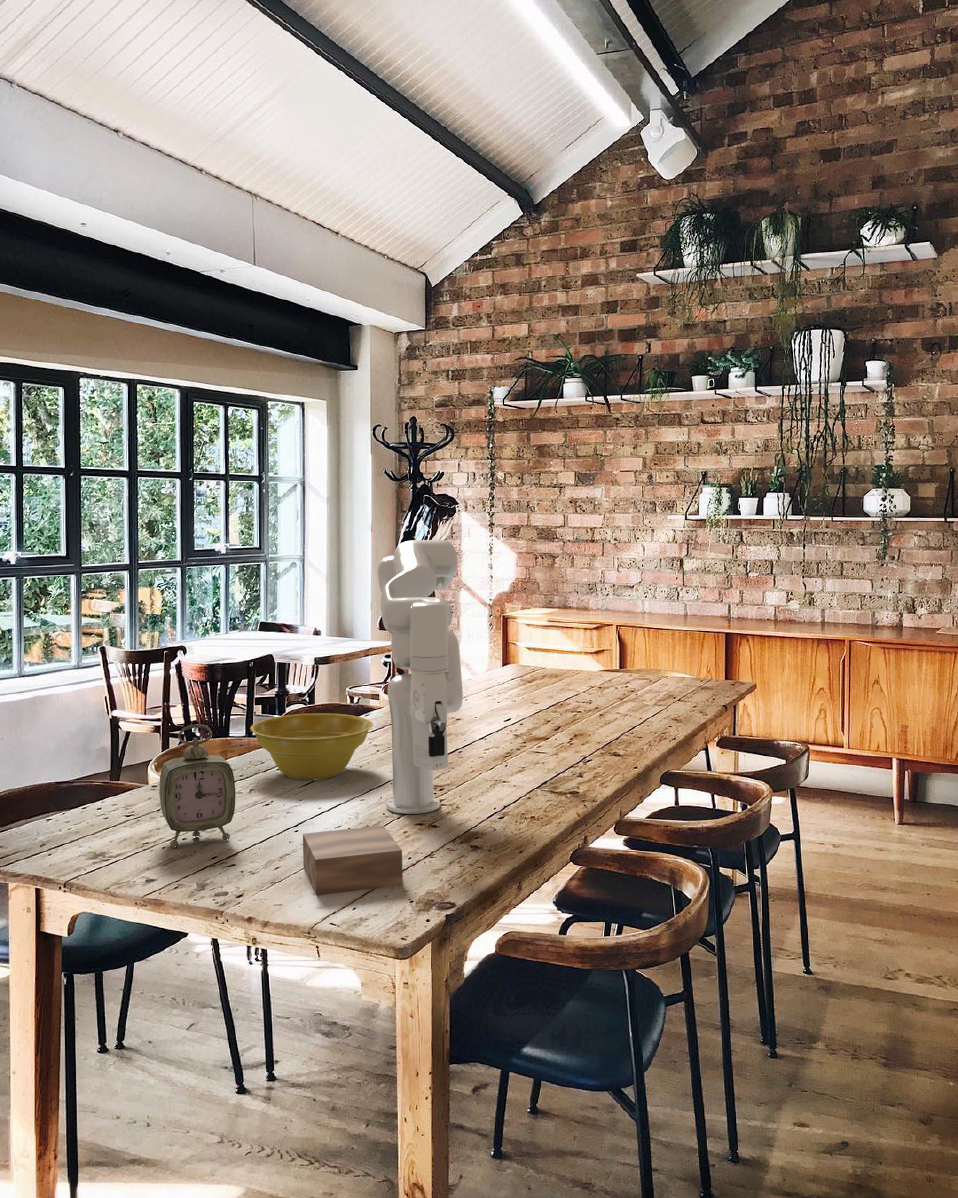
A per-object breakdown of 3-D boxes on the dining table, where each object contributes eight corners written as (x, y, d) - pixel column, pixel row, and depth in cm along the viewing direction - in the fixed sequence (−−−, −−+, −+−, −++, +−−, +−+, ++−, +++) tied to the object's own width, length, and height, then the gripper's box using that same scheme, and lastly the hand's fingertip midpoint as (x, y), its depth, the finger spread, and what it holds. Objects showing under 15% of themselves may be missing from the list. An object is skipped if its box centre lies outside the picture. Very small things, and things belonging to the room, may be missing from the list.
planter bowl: (395, 777, 268) (394, 727, 267) (281, 796, 250) (279, 742, 249) (340, 754, 294) (339, 708, 293) (233, 770, 276) (232, 721, 275)
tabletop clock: (166, 852, 209) (162, 731, 207) (159, 839, 217) (155, 723, 215) (236, 842, 215) (233, 725, 213) (228, 830, 223) (225, 717, 221)
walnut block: (303, 868, 199) (302, 833, 198) (383, 859, 204) (383, 825, 203) (316, 897, 184) (315, 859, 183) (402, 887, 189) (402, 850, 188)
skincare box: (448, 767, 204) (448, 707, 203) (432, 771, 201) (432, 711, 200) (427, 761, 208) (427, 703, 207) (411, 766, 205) (410, 706, 204)
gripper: (397, 658, 209) (398, 743, 211) (426, 672, 193) (427, 763, 195) (431, 656, 212) (432, 740, 214) (463, 669, 196) (463, 759, 198)
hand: (429, 750), depth 204 cm, fingers closed on skincare box, 7 cm apart
